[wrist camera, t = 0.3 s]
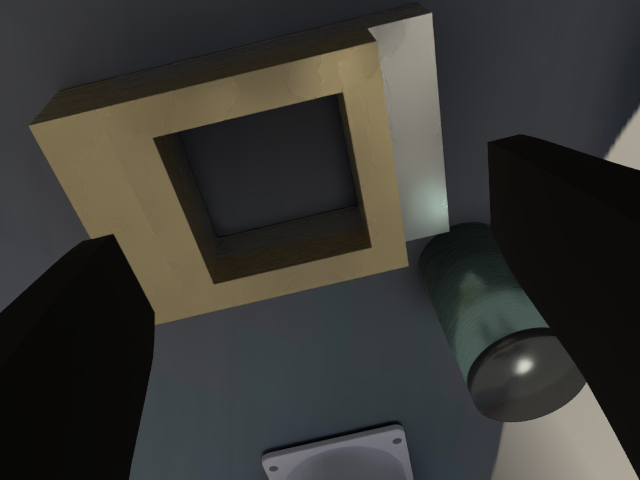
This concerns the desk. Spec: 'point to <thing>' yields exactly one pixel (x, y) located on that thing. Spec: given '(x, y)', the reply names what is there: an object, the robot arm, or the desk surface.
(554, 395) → the teal cylinder
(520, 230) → the robot arm
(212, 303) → the upper end link
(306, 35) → the lower end link
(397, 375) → the desk surface
